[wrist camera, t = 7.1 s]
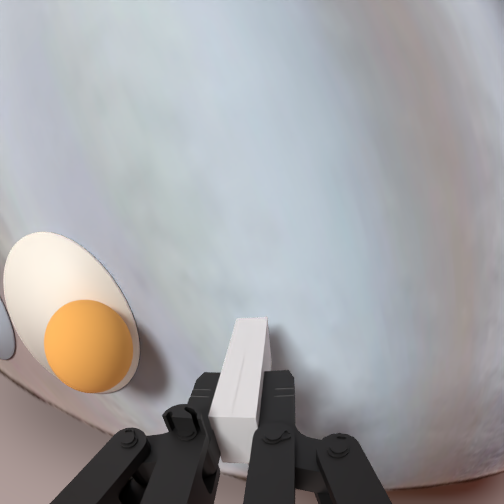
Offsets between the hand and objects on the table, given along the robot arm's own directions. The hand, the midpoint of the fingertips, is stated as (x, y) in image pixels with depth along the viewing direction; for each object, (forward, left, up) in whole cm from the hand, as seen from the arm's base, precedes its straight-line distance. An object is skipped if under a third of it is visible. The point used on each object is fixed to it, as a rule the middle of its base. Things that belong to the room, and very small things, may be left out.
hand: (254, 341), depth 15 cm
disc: (+14, 0, -2) cm, 14 cm away
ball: (+10, 0, +1) cm, 10 cm away
